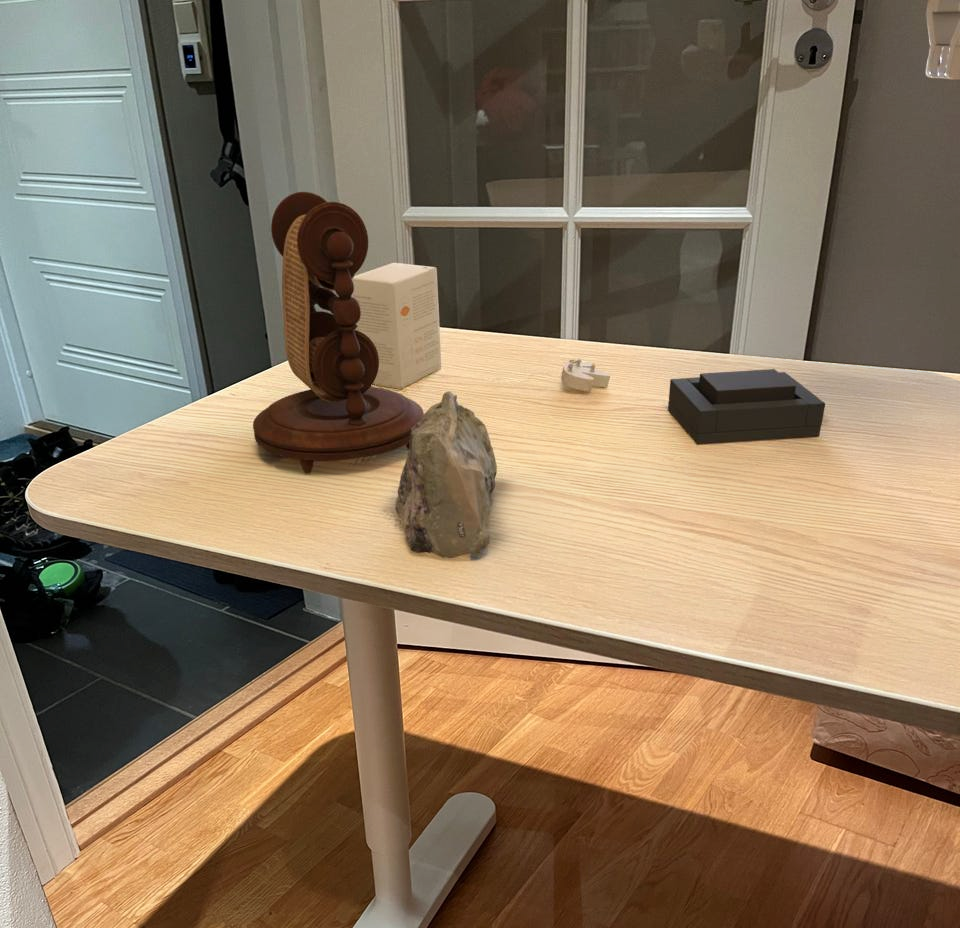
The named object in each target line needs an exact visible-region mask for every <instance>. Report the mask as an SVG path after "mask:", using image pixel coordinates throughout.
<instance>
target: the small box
mask: <svg viewBox="0 0 960 928" xmlns="http://www.w3.org/2000/svg"><path fill="white" fill-rule="evenodd" d="M352 281H353V283H354V292H353V294H352V297H353V298H355V299H356V300H357V301H358V303H359V305H360V310H361V317H360V320H359V321H358V322H357V323H356V324H357V325H358V327H357V328H356V329H355V330H357V331H360V332H362V333H363V334H365V335H366V336H368V337H369V338H370V339H371V341H372V342H373V343H374V345H375V347H376V349H377V352H378V357H379V368H378V373H377V376H376V378H375V380H374V382H373V384H372V385H375V386H381V387H386V388H391V389H395V390H402V389H403V388H405V387H407V386H410V385H411V384H413V383H415V382H417V381H419V380H421V379H423V378H425V377H427V376H429V375H431V374H433V373H435V372H436V371H439V370H441V368H442V350H441V349H442V346H441V330H440V329H441V325H440V309H439V308H440V307H439V289H438V269H437V267H436V266H427V265H418V264H409V263H400V262H391V263H389V264H385V265H383V266H379V267H377V268H374V269H371V270H367V271H365V272H361V273H359V274H355V275H354V277H353V279H352Z"/></svg>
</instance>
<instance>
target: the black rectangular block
mask: <svg viewBox="0 0 960 928" xmlns="http://www.w3.org/2000/svg"><path fill="white" fill-rule="evenodd" d="M699 377H700V378H699V388H698V391H699V392H700V393H701V394H702V395H703V396H704V397H705V398H706V399H707V400H708V401H709V402H710V403H711V404H712V405H715V404H731V403H746V402H762V401H778V400H794V396H795V390H796V386H795V385H794V384H793V383H792V382H790V381H789V380H788V379H786V378H785V377H784V376H783V375H781V374H780V373H779V371H777V370H776V369H775V368H768V369H754V370H753V369H751V370H736V371H720V372H704V373H699Z"/></svg>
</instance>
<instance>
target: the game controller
mask: <svg viewBox="0 0 960 928" xmlns="http://www.w3.org/2000/svg"><path fill="white" fill-rule="evenodd" d="M595 368H596V365H595V363H593V362H590V361H582V359H580V358H578V359H569V360H566V361H565V362H564V363H563V366H562V371H561V374H560V376H558V378H560V380H561V382H562V383H563V385H564V386H566V387H568V388H572V389H576V390H579V391H584V392H592V388H593V387H599V388H608V387H609V382H610V378H611V374H610V373H608V372H605V371H601V370H598V369H595ZM539 374H542V372H539V373H537V375H539ZM543 374H544V375H548V376H550V377H552V378H553V376H552V375H550V374H549V373H547V372H545V373H544V372H543ZM535 375H536V373H533V374H531V375H530V377H532V376H535ZM497 380H498V378H496V379H493V380H491V382H493V381H497ZM500 380H507V378H505V377H503V378H500ZM508 380H509V381H510V382H512V383H513V381H512V380H511V379H509V378H508ZM528 380H530V378H528V379H526V380H525V382H526V381H528ZM491 382H490V383H491ZM522 382H524V380H522V381H521V383H522Z"/></svg>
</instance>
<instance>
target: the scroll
mask: <svg viewBox="0 0 960 928" xmlns="http://www.w3.org/2000/svg"><path fill="white" fill-rule="evenodd" d="M270 224H271V225H270V231H271V238H272V241H273V244H274V247H275V248H276V250H277V252H278V253H279V254H280V255H281V257H282V269H281V275H282V276H281V298H282V299H281V301H282V302H281V303H282V319H283V336H284V345H285V354H286V359H287V362H288V366H289V367H290V369H291V371H292V373H293V375H294V376H295V377H296V378H297V379H299V380H300V381H301V382H302V383H303V384H304V385H305V386H307V387H308V388H309V389H307V390H302V391H298V392H296V393H293V394H289V395H286V396H284V397H282V398H280V399H278V400H276V401H274V402H273V403H271V404H270V405H268V407H266V408H265V409H263V410H262V411H260V412H259V413H258V414H257V415H256V416H255V418H254V420H253V423H252V429H253V435H254V441H255V443H256V444H257V445H258V447H260V448H261V449H262V450H264V451H265V452H268V453H270V454H273V455H276V456H278V457H283V458H287V459H293V460H298V461H299V465H300V467H301V469H302V471H303V473H304V474H306V475H310V474H311V473H312V472H313V469H314V464H315V463H314V462H335V461H347V460H349V461H350V460H357V459H358V460H359V459H363V458H364V459H365V458H368V457H374V456H379V455H381V454H386V453H390V452H392V451H395V450H397V449H401V448H402V447H404V446H405V447H406V448H407V450H408V451H409V445H410V433H411V431H412V428H413V427H414V426H415V425H416V424H417V423H418V422H419V421H421V419H422V417H423V415H424V414H425V412H424V410H423V408H422V406H421V405H420V404H419V403H418V402H416V401H415V400H413V399H411V398H409V397H407V396H405V395H403V394H402V393H399V392H397V391H394V390H390V389H386V388H382V387H376V386H372V385H374V384H373V382H374V380H375V378H376V376H377V373H378V368H379V357H378V352H377V349H376V347H375V345H374V343H373V342H372V341H371V339H370V338H369V337H368V336H366V335H365V334H363V333H362V332H360V331H357V330H355V329H356V328H357V327H358V325H357V324H356V323H357V322H358V321H359V320H360V317H361V310H360V305H359V303H358V301H357V300H356V299H355V298H353V297H352V294H353V292H354V283H353V281H352V279H353V277H354V276H356V273H358V272H359V270H360V269H361V268H362V266H363V264H364V263H365V260H366V258H367V255H368V251H369V235H368V230H367V227H366V224H365V221H364V220H363V219H362V217H361V216H360V214H359V213H358V212H357V211H356V210H354V209H353V208H352V207H350V206H349V205H347V204H344V203H342V202H338V201H327V200H326V199H325V198H323V197H322V196H320V195H318V194H317V193H313V192H310V191H297V192H294V193H292V194H289V195H287V196H286V197H284V199H283V200H281V201H280V202H279V204H278V205H277V207H276V208H275V210H274V212H273V215H272V219H271V223H270ZM334 291H335V292H334ZM316 305H317V306H318V307H319V308H320V309H322V310H321V311H320V310H319V311H317V309H316ZM323 310H324V311H323Z"/></svg>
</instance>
